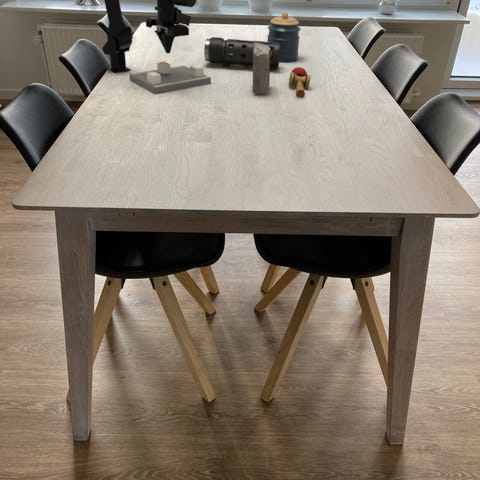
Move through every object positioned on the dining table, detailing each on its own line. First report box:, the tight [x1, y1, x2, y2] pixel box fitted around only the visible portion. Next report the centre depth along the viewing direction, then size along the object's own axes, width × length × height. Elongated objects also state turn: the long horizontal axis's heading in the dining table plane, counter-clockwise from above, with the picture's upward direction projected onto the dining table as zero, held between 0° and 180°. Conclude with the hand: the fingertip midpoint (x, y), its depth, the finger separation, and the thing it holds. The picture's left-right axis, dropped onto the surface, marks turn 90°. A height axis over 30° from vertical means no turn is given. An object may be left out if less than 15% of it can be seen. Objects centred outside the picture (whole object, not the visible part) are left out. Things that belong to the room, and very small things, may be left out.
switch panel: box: [129, 64, 212, 95], centre depth 181 cm, size 18×22×5 cm
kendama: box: [288, 66, 312, 99], centre depth 178 cm, size 8×6×18 cm
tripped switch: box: [156, 61, 172, 74], centre depth 182 cm, size 4×3×3 cm
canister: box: [266, 11, 301, 63], centre depth 208 cm, size 13×13×18 cm
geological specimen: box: [252, 42, 272, 94], centre depth 173 cm, size 11×6×15 cm, turn 173°
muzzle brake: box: [203, 36, 281, 71], centre depth 197 cm, size 10×28×10 cm, turn 82°
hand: (168, 53), depth 177 cm, fingers closed
